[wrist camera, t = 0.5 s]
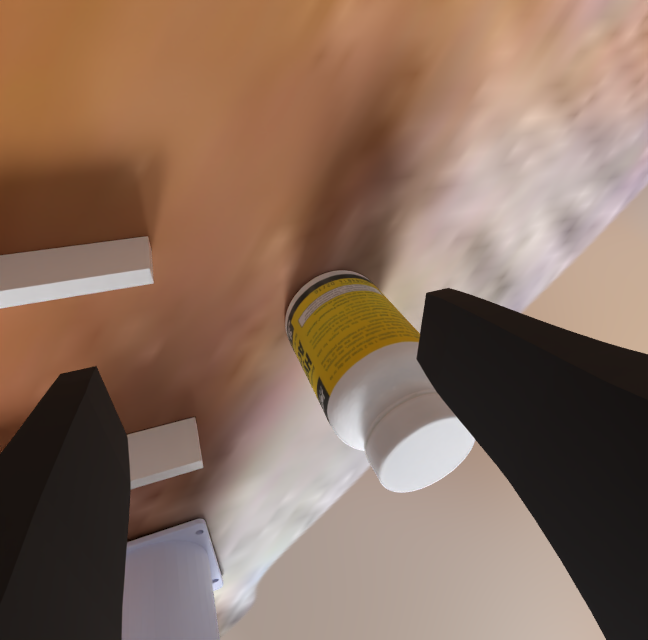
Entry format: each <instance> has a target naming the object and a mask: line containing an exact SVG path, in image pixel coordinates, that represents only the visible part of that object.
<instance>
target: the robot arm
mask: <svg viewBox="0 0 648 640" xmlns="http://www.w3.org/2000/svg"><path fill="white" fill-rule="evenodd" d="M416 359H417V361H418V363H419V364H420V366H421V368H422V370H423V371H424V373H425V375H426V376H427V378H428V380H429V381H430V383H431V384H432V386H433V387H434V389H435V390H436V392H437V393H438V395H439V396H440V397H441V398H442V400H443V401H444V402H445V403H446V405H447V406H448V407H449V408H450V409H451V411H452V412H453V413H454V414H455V416H456V417H457V418H458V419H459V420H460V422H461V423H462V424H463V425H464V426H465V428H466V429H467V430H468V431H469V432H470V434H471V435H472V436H473V437H474V438H475V440H476V441H477V442H478V443H479V444H480V446H481V447H482V448H483V449H484V450H485V452H486V453H487V454H488V455H489V456H490V458H491V459H492V460H493V461H494V462H495V464H496V465H497V466H498V467H499V469H500V470H501V471H502V473H503V474H504V475H505V477H506V478H507V479H508V481H509V482H510V483H511V485H512V486H513V488H514V489H515V491H516V492H517V494H518V495H519V497H520V498H521V500H522V501H523V502H524V504H525V505H526V507H527V508H528V510H529V511H530V513H531V514H532V516H533V517H534V519H535V520H536V522H537V523H538V525H539V527H540V528H541V530H542V531H543V533H544V534H545V536H546V538H547V539H548V541H549V542H550V544H551V545H552V547H553V549H554V550H555V552H556V553H557V555H558V556H559V558H560V559H561V561H562V563H563V565H564V566H565V568H566V570H567V571H568V573H569V575H570V576H571V578H572V580H573V582H574V583H575V585H576V587H577V588H578V590H579V592H580V593H581V595H582V597H583V599H584V600H585V602H586V604H587V605H588V607H589V609H590V610H591V612H592V614H593V616H594V618H595V619H596V621H597V623H598V625H599V627H600V629H601V631H602V632H603V634H604V636H605V638H606V640H648V354H644V353H641V352H637V351H633V350H629V349H626V348H622V347H618V346H615V345H612V344H608V343H605V342H602V341H599V340H595V339H593V338H589V337H587V336H583V335H580V334H577V333H574V332H571V331H568V330H565V329H562V328H560V327H557V326H554V325H551V324H548V323H546V322H543V321H540V320H537V319H535V318H532V317H529V316H527V315H524V314H521V313H519V312H516V311H513V310H511V309H508V308H505V307H503V306H500V305H497V304H495V303H492V302H489V301H487V300H484V299H481V298H478V297H475V296H473V295H470V294H467V293H464V292H461V291H457V290H454V289H450V288H446V289H442V290H437V291H433V292H428V293H426V299H425V305H424V312H423V318H422V325H421V332H420V338H419V345H418V351H417V358H416ZM130 490H131V481H130V462H129V448H128V437H127V435H126V433H125V430H124V428H123V426H122V423H121V421H120V419H119V417H118V414H117V412H116V410H115V407H114V405H113V403H112V401H111V398H110V396H109V394H108V391H107V389H106V387H105V385H104V382H103V380H102V378H101V375H100V373H99V371H98V369H97V366H95V367H90V368H86V369H81V370H77V371H72V372H68V373H63V374H60V375H59V377H58V378H57V379H56V381H55V382H54V383H53V384H52V386H51V387H50V388H49V390H48V391H47V392H46V394H45V395H44V396H43V398H42V399H41V400H40V402H39V403H38V404H37V406H36V407H35V409H34V410H33V411H32V413H31V414H30V415H29V417H28V418H27V419H26V421H25V422H24V423H23V425H22V426H21V427H20V429H19V430H18V431H17V433H16V434H15V436H14V437H13V438H12V439H11V441H10V442H9V443H8V445H7V446H6V447H5V449H4V450H3V451H2V452H1V454H0V640H220V637H219V630H218V622H217V615H216V608H215V600H214V593H213V591H215V590H217V589H219V588H221V587H222V586H223V578H222V575H221V572H220V568H219V565H218V562H217V558H216V555H215V552H214V548H213V545H212V542H211V539H210V535H209V532H208V529H207V525H206V522H205V520H204V519H196V520H193V521H190V522H187V523H184V524H181V525H178V526H175V527H172V528H168V529H165V530H162V531H159V532H156V533H153V534H150V535H147V536H144V537H141V538H138V539H135V540H132V541H129V542H127V536H128V522H129V506H130Z"/></svg>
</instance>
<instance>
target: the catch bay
mask: <svg viewBox="0 0 648 640" xmlns="http://www.w3.org/2000/svg"><path fill="white" fill-rule="evenodd" d="M153 283H154V279H153V264H152V249H151V246H150V242H149V238H148V236H145V237H137V238H130V239H122V240H115V241H107V242H99V243H92V244H84V245H76V246H69V247H61V248H53V249H46V250H38V251H30V252H23V253H15V254H7V255H0V308H6V307H12V306H18V305H24V304H30V303H37V302H43V301H49V300H55V299H61V298H67V297H73V296H80V295H86V294H92V293H98V292H104V291H110V290H116V289H122V288H129V287H135V286H141V285H147V284H153ZM127 437H128V448H129V462H130V481H131V489H134V488H137V487H141V486H144V485H147V484H151V483H154V482H157V481H161V480H164V479H168V478H171V477H174V476H178V475H181V474H184V473H188V472H191V471H194V470H198V469H201V468H203V462H202V455H201V449H200V442H199V435H198V429H197V423H196V419H195V417H193V418H189V419H185V420H181V421H178V422H174V423H170V424H166V425H162V426H158V427H155V428H151V429H147V430H143V431H139V432H135V433H132V434H128V435H127Z"/></svg>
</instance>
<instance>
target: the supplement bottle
mask: <svg viewBox="0 0 648 640" xmlns="http://www.w3.org/2000/svg"><path fill="white" fill-rule="evenodd" d="M285 327H286V332H287V336H288V338H289V341H290V343H291V346H292V348H293V350H294V352H295V354H296V355H297V358H298V359H299V362H300V364H301V366H302V368H303V370H304V372H305V374H306V376H307V378H308V380H309V382H310V384H311V386H312V388H313V390H314V392H315V394H316V396H317V398H318V400H319V402H320V405H321V407H322V409H323V411H324V413H325V415H326V417H327V419H328V421H329V424H330V425H331V427H332V428H333V430H334V432H335V433H336V435H337V436H338V437H339V438H340V440H342V441H343V442H344V443H345V444H347V445H348V446H350V447H352V448H355V449H358V450H362V451H365V454H366V456H367V459H368V462H369V463H370V465H371V466H372V468H373V470H374V472H375V473H376V475H377V477H378V479H379V481H380V482H381V484H382V485H383V486H384V487H385V488H387V489H388V490H390V491H393V492H411V491H415V490H419V489H422V488H424V487H427V486H429V485H431V484H433V483H435V482H437V481H438V480H440V479H442V478H443V477H445V476H446V475H448V474H449V473H450V472H451V471H453V470H454V469H455V468H456V467H457V466H458V465H459V464H460V463H461V462H462V461H463V460H464V459H465V458H466V456H467V455H468V453H469V452H470V450H471V449H472V447H473V445H474V442H475V438H474V437H473V436H472V435H471V434H470V432H469V431H468V430H467V429H466V428H465V426H464V425H463V424H462V423H461V422H460V420H459V419H458V418H457V417H456V416H455V414H454V413H453V412H452V411H451V409H450V408H449V407H448V406H447V405H446V403H445V402H444V401H443V400H442V398H441V397H440V396H439V395H438V393H437V392H436V390H435V389H434V387H433V386H432V384H431V383H430V381H429V380H428V378H427V376H426V375H425V373H424V371H423V370H422V368H421V366H420V364H419V363H418V361H417V359H416V358H417V351H418V345H419V338H420V333H419V332H418V331H417V330H416V329H415V328H414V327H413V326H412V325H411V324H410V323H409V322H408V321H407V320H406V318H405V317H404V316H403V315H402V314H401V313H400V312H399V311H398V310H397V309H396V308H395V307H394V305H393V304H392V303H391V302H390V301H389V300H388V299H387V298H386V297H385V296H384V295H383V294H382V293H381V291H380V290H379V289H378V288H377V287H376V286H375V285H374V284H373V283H372V282H371V281H370V280H369V279H367V278H366V277H365V276H363V275H361V274H359V273H356V272H353V271H347V270H338V271H332V272H328V273H325V274H322V275H319V276H317V277H315V278H314V279H312V280H311V281H309V282H308V283H307V284H305V285H304V286H303V287H302V288H301V289H300V290H299V291H298V292H297V294H296V295H295V296H294V298H293V299H292V301H291V303H290V305H289V307H288V310H287V313H286V319H285Z"/></svg>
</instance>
